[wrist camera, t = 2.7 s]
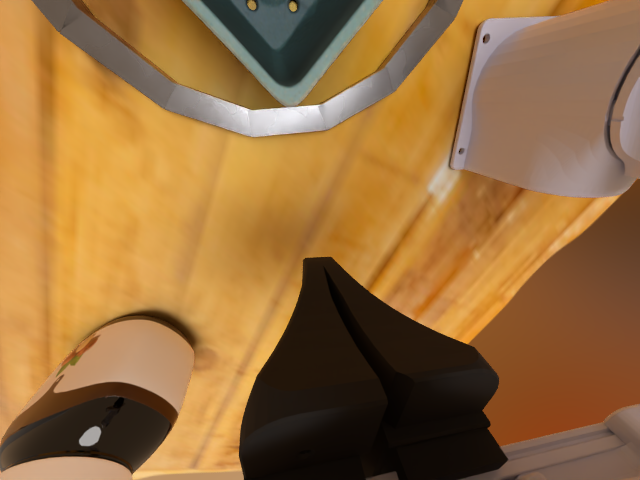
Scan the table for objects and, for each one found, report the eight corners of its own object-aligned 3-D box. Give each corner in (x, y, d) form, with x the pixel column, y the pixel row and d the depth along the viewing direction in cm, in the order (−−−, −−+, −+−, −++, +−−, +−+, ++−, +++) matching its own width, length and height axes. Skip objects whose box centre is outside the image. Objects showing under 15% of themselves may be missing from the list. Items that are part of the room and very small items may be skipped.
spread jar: (161, 294, 21) (65, 462, 11) (232, 359, 27) (210, 508, 17) (45, 347, 22) (-148, 552, 12) (139, 399, 27) (64, 567, 17)
